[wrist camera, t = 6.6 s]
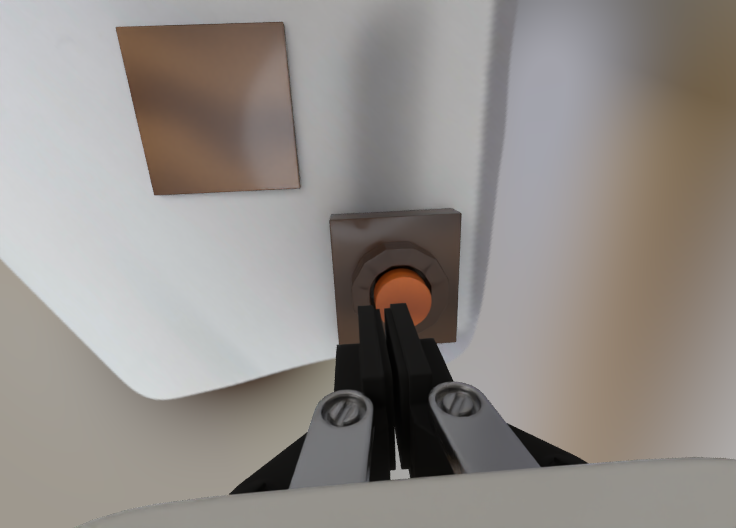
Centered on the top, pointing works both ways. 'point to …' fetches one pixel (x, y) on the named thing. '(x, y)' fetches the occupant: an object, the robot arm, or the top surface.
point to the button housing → (396, 264)
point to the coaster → (212, 106)
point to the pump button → (403, 293)
